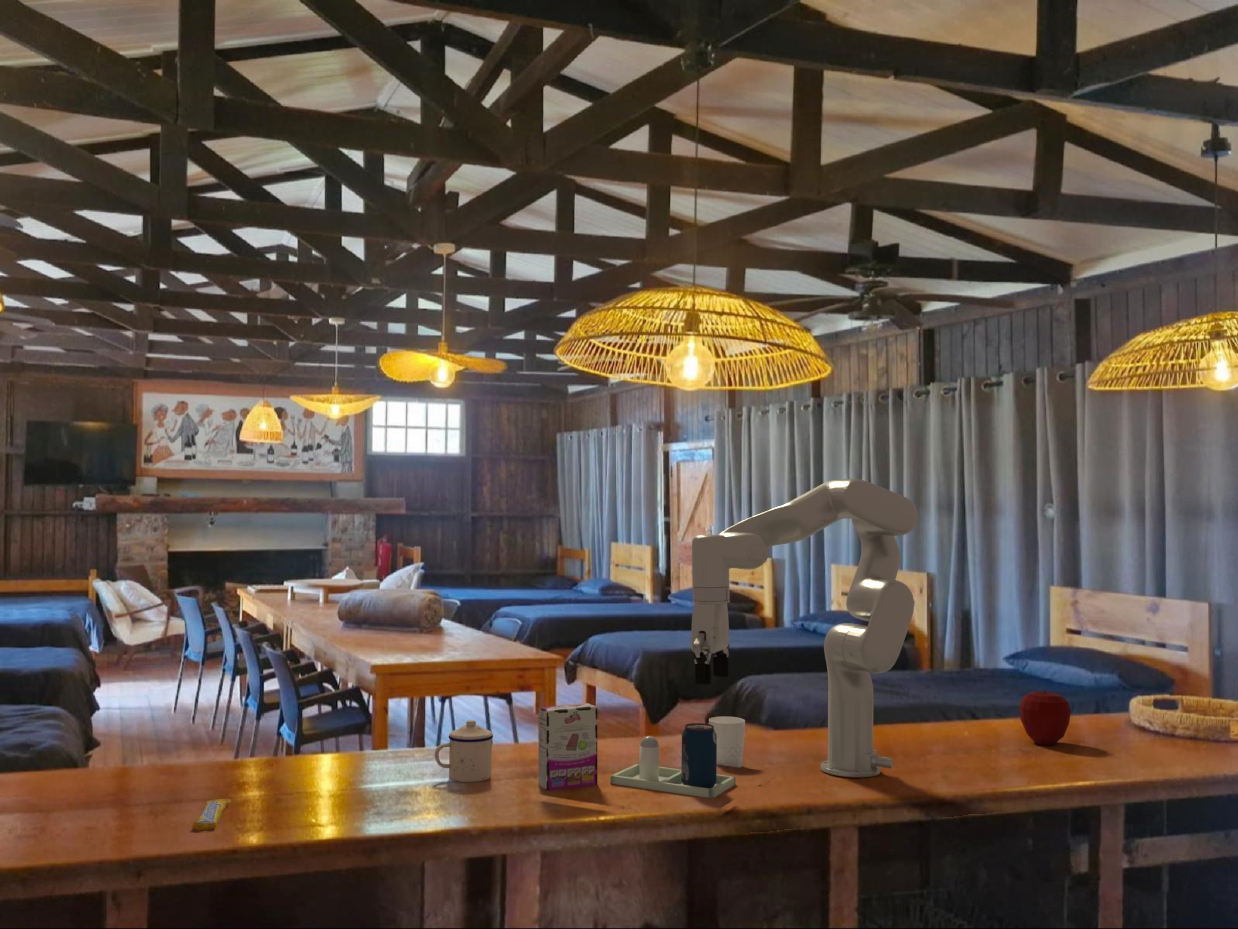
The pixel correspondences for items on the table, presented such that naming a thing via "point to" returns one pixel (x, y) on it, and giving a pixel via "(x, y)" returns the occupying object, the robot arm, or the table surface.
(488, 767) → the teacup with lid
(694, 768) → the soda can
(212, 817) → the candy bar
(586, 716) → the candy bar box
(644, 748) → the shaker
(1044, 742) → the apple
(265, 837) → the table surface
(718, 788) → the caddy
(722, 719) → the white cup
